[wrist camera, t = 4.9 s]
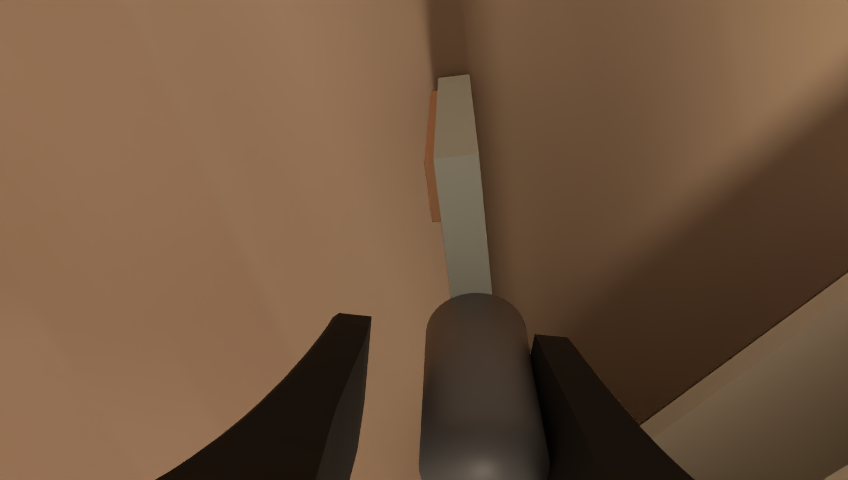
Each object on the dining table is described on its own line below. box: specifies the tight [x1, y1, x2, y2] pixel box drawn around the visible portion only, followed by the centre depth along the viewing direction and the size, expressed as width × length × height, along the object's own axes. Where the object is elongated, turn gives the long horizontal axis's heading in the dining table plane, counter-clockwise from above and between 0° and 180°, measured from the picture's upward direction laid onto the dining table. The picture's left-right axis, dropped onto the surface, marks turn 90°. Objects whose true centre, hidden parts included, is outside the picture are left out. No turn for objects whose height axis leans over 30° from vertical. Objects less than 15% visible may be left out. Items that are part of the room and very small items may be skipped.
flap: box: [419, 74, 550, 480], centre depth 16 cm, size 16×2×10 cm, turn 7°
